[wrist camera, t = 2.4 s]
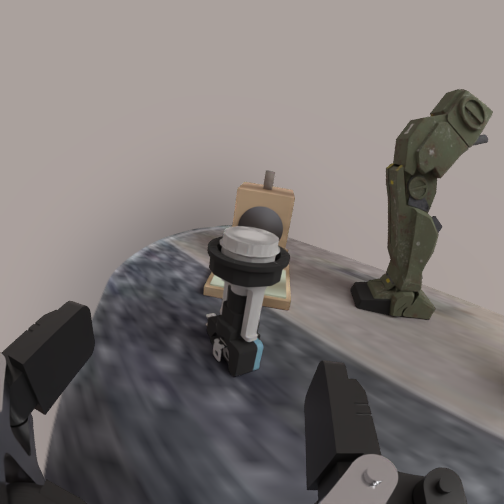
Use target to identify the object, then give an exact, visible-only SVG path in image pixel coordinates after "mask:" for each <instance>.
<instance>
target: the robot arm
mask: <svg viewBox="0 0 504 504" xmlns="http://www.w3.org/2000/svg"><path fill="white" fill-rule="evenodd" d="M94 346H95V340H94V334H93V327H92V320H91V313H90V309H89V308H88V307H87V306H85V305H81V304H79V303H76V302H73V301H68V302H66V303H65V304H64V305H63V306H62V307H61V308H59V309H58V310H55V311H52V312H50V313H48V314H45V315H44V316H43V317H41V318H40V319H39V320H38V321H37V322H36V323H35V324H33V325H32V326H31V327H30V328H29V329H28V331H27V330H26V331H25V332H24V333H23V334H22V335H21V336H20V337H18V338H17V339H16V340H15V341H14V342H13V343H12V344H11V345H10V346H8V347H7V348H6V349H5V350H4V351H3V352H2V353H0V504H87V503H85V502H84V501H83V500H82V499H80V498H79V497H77V496H75V495H73V494H71V493H70V492H68V491H66V490H64V489H62V488H60V487H59V486H57V485H55V484H54V483H52V482H50V481H49V480H46V481H45V479H44V477H43V474H42V472H41V470H40V468H39V466H38V462H37V457H36V449H35V441H34V430H33V418H32V415H31V412H32V411H33V410H34V409H36V410H38V411H40V412H41V413H43V414H45V415H46V413H47V412H48V411H49V409H50V408H51V407H52V405H53V404H54V403H55V401H56V400H57V399H58V397H59V396H60V395H61V394H62V392H63V391H64V390H65V388H66V387H67V386H68V384H69V383H70V382H71V381H72V379H73V378H74V377H75V375H76V374H77V373H78V372H79V370H80V369H81V368H82V367H83V365H84V364H85V363H86V362H87V360H88V359H89V358H90V357H91V355H92V353H93V350H94ZM304 413H305V438H306V476H307V490H318V500H317V501H316V502H315V503H314V504H467V500H466V496H465V493H464V489H463V485H462V482H461V479H460V478H459V476H458V475H457V474H456V473H455V472H454V471H452V470H450V469H448V468H436V469H434V470H432V471H430V472H429V473H428V474H427V475H426V476H425V477H424V476H418V475H412V474H406V473H402V472H399V471H397V469H396V467H395V466H394V464H393V463H392V462H391V461H390V460H388V459H387V458H385V457H383V456H382V455H381V452H380V447H379V443H378V439H377V435H376V431H375V427H374V423H373V419H372V416H371V411H370V407H369V406H368V400H367V396H366V392H365V390H364V389H363V387H362V386H361V385H360V384H359V382H358V381H357V380H356V379H348V375H347V371H346V366H345V364H344V363H340V362H331V361H323V360H322V361H320V363H319V365H318V367H317V370H316V372H315V375H314V377H313V380H312V382H311V384H310V387H309V389H308V392H307V395H306V399H305V405H304Z"/></svg>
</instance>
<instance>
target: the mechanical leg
mask: <svg viewBox="0 0 504 504" xmlns="http://www.w3.org/2000/svg"><path fill="white" fill-rule="evenodd" d="M492 113H493V111H491V109H489V108H488V107H487V106H486V105H485V104H484V103H482V102H481V101H480V100H479V99H478V98H476V97H475V96H474V95H472V94H471V93H470V92H469V91H466V90H464V89H461V90H459V89H458V90H455V91H451V92H448V93H446V94H445V95H444V97H443V98H442V99H441V100H440V102H439V103H438V104H437V106H436V107H435V108H434V109H433V111H432V112H431V113H430V115H431V117H426V118H420V119H416V120H411V121H410V122H409V123H408V124H407V126H406V127H405V128H404V130H403V131H402V132H401V134H400V135H399V136H398V138H397V139H396V146H395V154H394V161H393V164H390V165H389V166H388V167H387V168H386V186H387V194H388V252H389V255H390V259H391V260H390V263H389V266H388V269H387V271H386V274H384V275H383V276H382V277H381V278H380V279H375V280H369V281H368V282H355V283H354V285H353V286H352V288H351V293H352V296H353V299H354V302H355V305H356V307H357V308H359V309H364V310H368V311H373V312H377V313H382V314H386V315H389V314H391V315H392V316H400V317H401V316H405V317H410V318H411V317H414V318H421V319H428V320H429V319H430V317H431V315H432V314H433V312H434V310H435V309H436V308H435V307H434V306H433V304H432V303H431V302H430V300H429V299H428V298H427V296H426V295H425V294H424V292H423V291H422V290H421V284H422V271H423V269H424V267H425V265H426V264H427V262H428V260H429V259H430V257H431V255H432V254H433V252H434V248H435V245H436V242H437V238H438V233H439V231H440V230H441V228H442V225H441V224H440V222H439V221H438V219H437V218H436V216H433V217H431V216H430V215H429V214H428V212H429V209H430V207H431V204H432V202H433V199H434V197H435V194H436V186H437V178H441V177H442V176H443V175H444V174H445V173H446V172H447V170H448V169H449V168H450V167H451V166H452V165H453V164H454V162H455V161H456V160H457V159H458V158H459V156H460V155H462V154H463V153H464V152H465V151H467V150H468V148H469V147H471V146H472V145H478V144H482V143H487V142H488V138H487V136H486V135H480V134H481V132H482V131H483V129H484V127H485V126H486V124H487V122H488V121H489V119H490V117H491V115H492Z"/></svg>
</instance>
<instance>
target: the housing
mask: <svg viewBox="0 0 504 504" xmlns="http://www.w3.org/2000/svg"><path fill="white" fill-rule="evenodd" d="M274 175H275V172H273V171H266V174H265V180H264V185H260V184H255V183H248V182H244V183H243V184H242V185H241V186H240V187H239V188H238V190H237V197H236V204H235V211H234V219H233V225H232V227H236V226H244V227H253V228H258V229H262V230H266V231H268V232H271V233H273V234H275V235H276V236H277V237H278V238H279V243H278V245H279V246H280V247H282V248H284V249H285V247H286V242H287V237H288V232H289V227H290V221H291V216H292V211H293V206H294V200H295V197H294V193H293V190H289V189H283V188H278V187H273V181H274ZM285 250H286V251H287V252H288V249H285ZM224 283H225V282H224V281H222V280H221V278H219V277H217V276H215V275H214V274H213V273H211V274H210V276H209V278H208V280H207V282H206V284H205V286H204V293H203V295H207V296H212V297H217V298H222V299H223V291H224ZM290 303H291V297H290V276H289V264H288V266H287V267H286V268H284V269H283V270H282V275H281V279H280V282H278V283H276V284H274V285H272V286H268V287H267V288H266V290H265V293H264V298H263V303H262V306H266V307H272V308H278V309H284V310H289V307H290Z"/></svg>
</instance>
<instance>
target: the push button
mask: <svg viewBox="0 0 504 504" xmlns="http://www.w3.org/2000/svg"><path fill="white" fill-rule="evenodd" d="M278 243H279V238H278V237H277V236H276V235H275V234H273V233H271V232H268V231H266V230H262V229H258V228H253V227H244V226H236V227H230V228H227V229H225V231H224V233H223V237H219V238H215V239H213V240H211V241H210V242H209V244H208V254H209V256H210V265H209V268H210V269H211V271H212V273H213V274H214V275H215V276H217V277H219V278H221V280H222V281H224V282H225V283H224V291H223V299H222V307H221V309H220V314H221V315H217V316H216V315H215V314H214V313H212V314H207V315H206V316H207V317H208V322H207V323H206V326H207V333H208V335H209V336H210V341H211V343H212V344H213V355H214V356H215V358H216V359H217V360H218V361H221V356H222V357H223V358H224V359H225V361H226V362H227V363H228V369H229V372H230V373H231V374H232V376H233V377H236V376H239V375H242V374H245V373H248V372H251V371H254V370H256V369H258V368H259V366H260V360H261V356H262V351H263V344H262V342H261V341H260V334H259V333H258V328H259V318H260V313H261V308H262V303H263V298H264V293H265V290H266V288H267V287H268V286H272V285H274V284H276V283H278V282H280V279H281V275H282V270H283V269H284V268H286V267H287V266H288V264H289V260H290V255H289V253H288V252H287V251H286V250H285V249H284V248H282V247H280V246H279V245H278ZM211 316H212V317H211ZM216 351H217V352H218V356H217V354H216Z"/></svg>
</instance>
